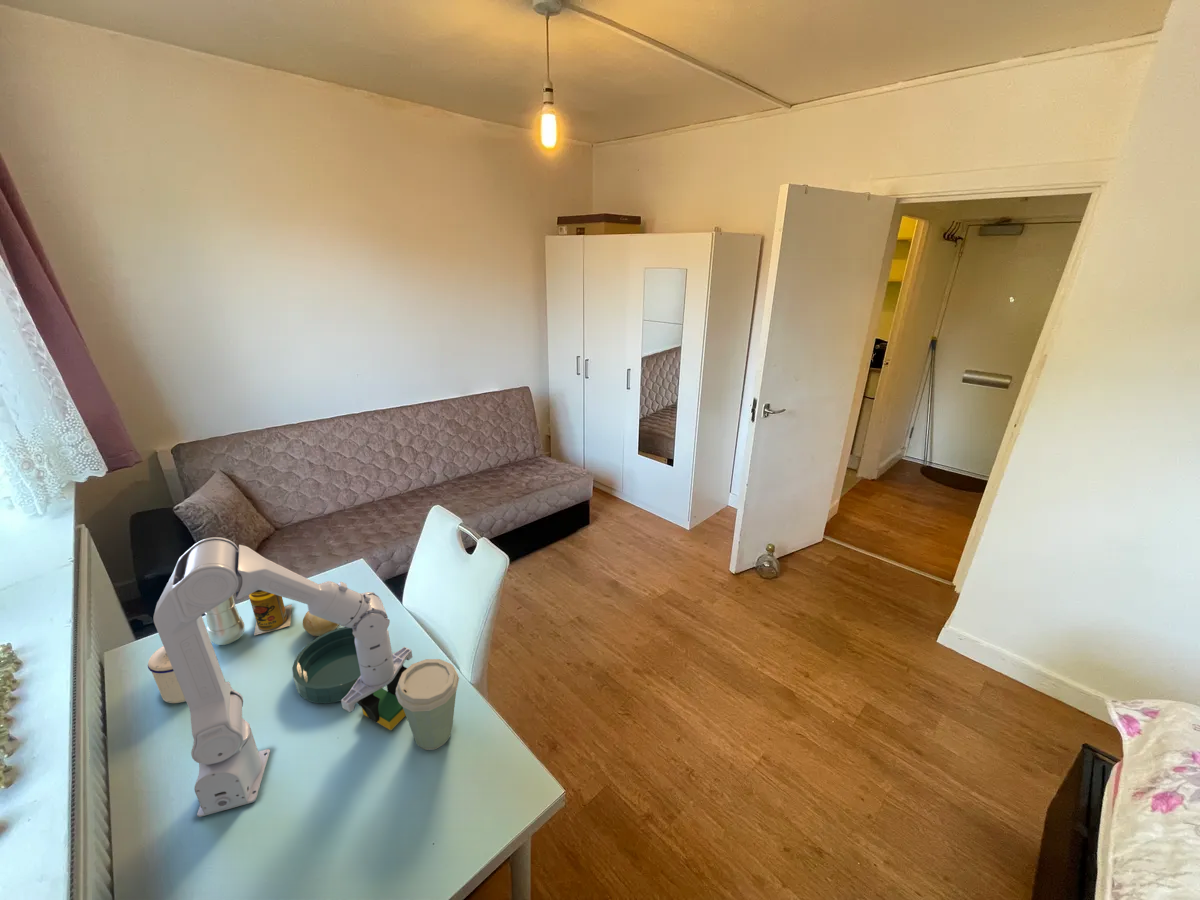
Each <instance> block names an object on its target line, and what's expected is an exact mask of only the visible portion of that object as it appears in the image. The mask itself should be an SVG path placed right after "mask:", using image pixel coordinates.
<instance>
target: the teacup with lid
mask: <svg viewBox="0 0 1200 900" xmlns="http://www.w3.org/2000/svg"><path fill="white" fill-rule="evenodd" d="M147 668H148V671H150V672H151V674H152V676H153V679H154V681H155V683H156V687H157V688H158V692H159V693H160V695H161V698H162V700H163V701H164V702H166V703H168V704H179V703H184V702H186V700H185V697H184V695H183V692H182V690H181V688H180V685H179V683H178V680H177V678H176V675H175V673H174V670H173V668H172V665H171V663H170V661H169V658H168V656H167V653H166V651H165V648H164V646H163V645H161V647H159V648H158V649H156V651H154V652H153V653H152V654H151V656H150V657H149V659H148V662H147Z"/></svg>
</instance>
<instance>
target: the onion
mask: <svg viewBox="0 0 1200 900" xmlns="http://www.w3.org/2000/svg"><path fill="white" fill-rule="evenodd" d="M339 626H340V625H339V624H336V623H333V622H331V621H328V620H325V619H322V618H320V617H317V616H314V615H312V614H310V613H309V610H308V611H306V613H305V614H304V616H303V619H302V627H303V629H304V630H305V632H306V633H308V634H309V635H311V636H312V637H316V638H317V637H319V636H321V635H323V634H325V633H327V632H329V631H332V630H335V629H338V628H339Z"/></svg>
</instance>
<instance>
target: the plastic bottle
mask: <svg viewBox="0 0 1200 900" xmlns="http://www.w3.org/2000/svg"><path fill="white" fill-rule="evenodd" d="M204 615H205V619H206V623H207V632H208V635H209V638H210V640H211V643H212V644H213V645H217V646H225V645H229V644H231V643H233V642H236V641H237V640H239V639H240V638H241V637H242V636H243V634H244V632H245V622H244V620H243V618H242V616H241V615H240V613H239V611H238V609H237V606H236V602H235V597H234V594H233V595H232V596H231V597H230V598H229V599H228V600H226V601H225V602H223V603H221V604H220V605H218V606H216V607H214V608H213V609H211V610H209V611H208V612H206V613H204Z"/></svg>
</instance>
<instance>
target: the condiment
mask: <svg viewBox="0 0 1200 900" xmlns="http://www.w3.org/2000/svg"><path fill="white" fill-rule="evenodd" d="M248 597H249V602H250V605H251V608H252V613H253V615H254V618H255V627H254V632H253V634H254V635H253V636H258V635H262V634H266V633H269V632H273V631H276V630H280V629H283V628H286V627H287V628H288V627H291V622H292V611H293V610H292V607H293V605H292V603H291V604H288V605H285V603H284V599H283V597H282V596H278V595H275V594H272V593H269V592H265V591H262V590H257V591H255V592H253V593H251V594H249V595H248Z"/></svg>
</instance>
